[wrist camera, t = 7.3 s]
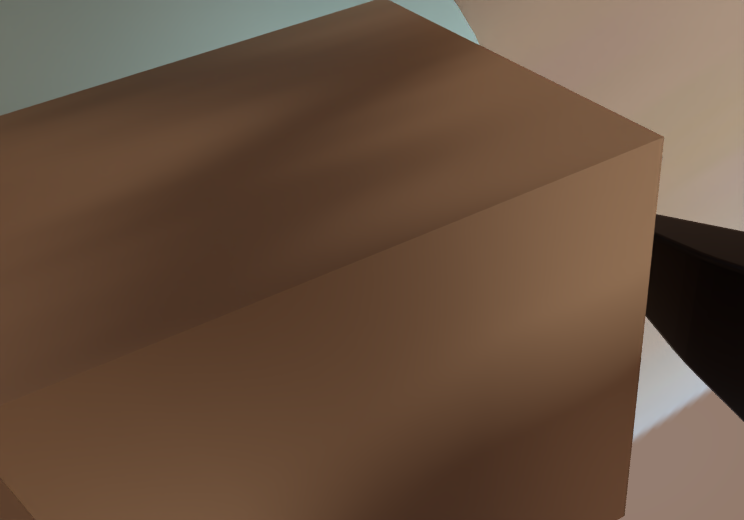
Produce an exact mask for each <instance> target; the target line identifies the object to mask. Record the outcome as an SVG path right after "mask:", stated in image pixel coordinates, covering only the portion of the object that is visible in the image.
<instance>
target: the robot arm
mask: <svg viewBox="0 0 744 520" xmlns="http://www.w3.org/2000/svg"><path fill="white" fill-rule="evenodd" d="M645 316H646V317H647V318H648V320H649V321H650V322H651V323H652V324H653V326H654V327H655V328H656V329H657V330H658V332H659V333H660V334H661V335H662V337H663V338H664V339H665V340H666V341H667V343H668V344H669V345H670V346H671V348H672V349H673V350H674V351H675V352H676V353H677V354H678V356H679V357H680V358H681V359H682V360H683V361H684V362H685V363H686V365H687V366H688V367H689V368H690V369H691V370H692V371H693V372H694V373H695V374H696V375H697V376H698V377H699V378H700V379H701V380H702V381H703V382H704V383H705V384H706V385H707V386H708V387H709V388H710V389H711V390H712V391H713V392H714V393H715V394H716V395H717V396H718V397H719V398H720V399H721V400H722V401H723V402H724V403H725V404H727V406H728V407H729V408H731V410H733V411H734V412H735V413H736V415H738V416H739V417H740V418H741V419H742V420H743V421H744V231H738V230H733V229H728V228H723V227H718V226H713V225H708V224H703V223H698V222H693V221H688V220H683V219H678V218H673V217H668V216H663V215H658V214H656V219H655V228H654V238H653V247H652V257H651V266H650V276H649V286H648V295H647V305H646V314H645Z"/></svg>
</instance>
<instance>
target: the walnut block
mask: <svg viewBox="0 0 744 520" xmlns="http://www.w3.org/2000/svg"><path fill="white" fill-rule="evenodd" d="M663 142H664V137H663V136H661V135H659V134H657V133H655V132H653V131H651V130H649V129H647V128H645V127H643V126H641V125H639V124H637V123H635V122H633V121H631V120H629V119H627V118H625V117H623V116H621V115H619V114H617V113H615V112H613V111H611V110H609V109H607V108H605V107H603V106H601V105H599V104H597V103H595V102H593V101H591V100H589V99H587V98H585V97H583V96H581V95H579V94H577V93H575V92H573V91H571V90H569V89H567V88H565V87H563V86H561V85H559V84H557V83H555V82H553V81H551V80H549V79H547V78H545V77H543V76H541V75H538V74H536V73H534V72H532V71H530V70H528V69H526V68H524V67H522V66H520V65H518V64H516V63H514V62H512V61H510V60H508V59H506V58H504V57H502V56H500V55H498V54H496V53H494V52H492V51H490V50H488V49H486V48H484V47H482V46H480V45H478V44H476V43H474V42H472V41H470V40H468V39H466V38H464V37H462V36H460V35H458V34H456V33H454V32H452V31H450V30H448V29H446V28H444V27H442V26H440V25H438V24H436V23H434V22H432V21H430V20H428V19H426V18H424V17H422V16H420V15H418V14H416V13H414V12H412V11H410V10H408V9H406V8H404V7H402V6H400V5H398V4H396V3H394V2H392V1H390V0H373V1H370V2H367V3H363V4H360V5H357V6H354V7H350V8H347V9H344V10H341V11H337V12H334V13H331V14H328V15H324V16H321V17H318V18H315V19H311V20H308V21H305V22H302V23H299V24H295V25H292V26H289V27H286V28H282V29H279V30H276V31H273V32H269V33H266V34H263V35H260V36H256V37H253V38H250V39H247V40H243V41H240V42H237V43H234V44H231V45H227V46H224V47H221V48H218V49H214V50H211V51H208V52H205V53H201V54H198V55H195V56H192V57H188V58H185V59H182V60H179V61H176V62H172V63H169V64H166V65H163V66H159V67H156V68H153V69H150V70H146V71H143V72H140V73H137V74H133V75H130V76H127V77H124V78H120V79H117V80H114V81H111V82H108V83H104V84H101V85H98V86H95V87H91V88H88V89H85V90H82V91H78V92H75V93H72V94H69V95H65V96H62V97H59V98H56V99H52V100H49V101H46V102H43V103H40V104H36V105H33V106H30V107H27V108H23V109H20V110H17V111H14V112H10V113H7V114H4V115H1V116H0V478H1V480H2V481H3V482H4V483H5V484H6V486H7V487H8V488H9V489H10V490H11V492H12V493H13V494H14V495H15V496H16V498H17V499H18V500H19V501H20V502H21V504H22V505H23V506H24V507H25V508H26V510H27V511H28V512H29V513H30V514H31V516H32V517H33V518H34V519H35V520H618V519H620V518H621V517H623V516H624V515H625V506H626V495H627V487H628V477H629V467H630V458H631V448H632V439H633V429H634V420H635V410H636V400H637V391H638V381H639V372H640V362H641V353H642V343H643V333H644V324H645V314H646V305H647V295H648V286H649V276H650V266H651V257H652V247H653V238H654V228H655V219H656V209H657V199H658V190H659V180H660V171H661V161H662V152H663Z"/></svg>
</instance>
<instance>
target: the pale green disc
mask: <svg viewBox="0 0 744 520" xmlns="http://www.w3.org/2000/svg"><path fill="white" fill-rule="evenodd" d="M370 1H373V0H0V116H1V115H4V114H7V113H10V112H14V111H17V110H20V109H23V108H27V107H30V106H33V105H36V104H40V103H43V102H46V101H49V100H52V99H56V98H59V97H62V96H65V95H69V94H72V93H75V92H78V91H82V90H85V89H88V88H91V87H95V86H98V85H101V84H104V83H108V82H111V81H114V80H117V79H120V78H124V77H127V76H130V75H133V74H137V73H140V72H143V71H146V70H150V69H153V68H156V67H159V66H163V65H166V64H169V63H172V62H176V61H179V60H182V59H185V58H188V57H192V56H195V55H198V54H201V53H205V52H208V51H211V50H214V49H218V48H221V47H224V46H227V45H231V44H234V43H237V42H240V41H243V40H247V39H250V38H253V37H256V36H260V35H263V34H266V33H269V32H273V31H276V30H279V29H282V28H286V27H289V26H292V25H295V24H299V23H302V22H305V21H308V20H311V19H315V18H318V17H321V16H324V15H328V14H331V13H334V12H337V11H341V10H344V9H347V8H350V7H354V6H357V5H360V4H363V3H367V2H370ZM390 1H392V2H394V3H396V4H398V5H400V6H402V7H404V8H406V9H408V10H410V11H412V12H414V13H416V14H418V15H420V16H422V17H424V18H426V19H428V20H430V21H432V22H434V23H436V24H438V25H440V26H442V27H444V28H446V29H448V30H450V31H452V32H454V33H456V34H458V35H460V36H462V37H464V38H466V39H468V40H470V41H472V42H474V43H476V44H478V45H479V43H478V41H477V39H476V36H475V34H474V32H473V31H472V29H471V27H470V26H469V24H468V22H467V21H466V19H465V17H464V16H463V14H462V12H461V11H460V9H459V7H458V6H457V4H456V3H455V2H454V1H453V0H390Z"/></svg>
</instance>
